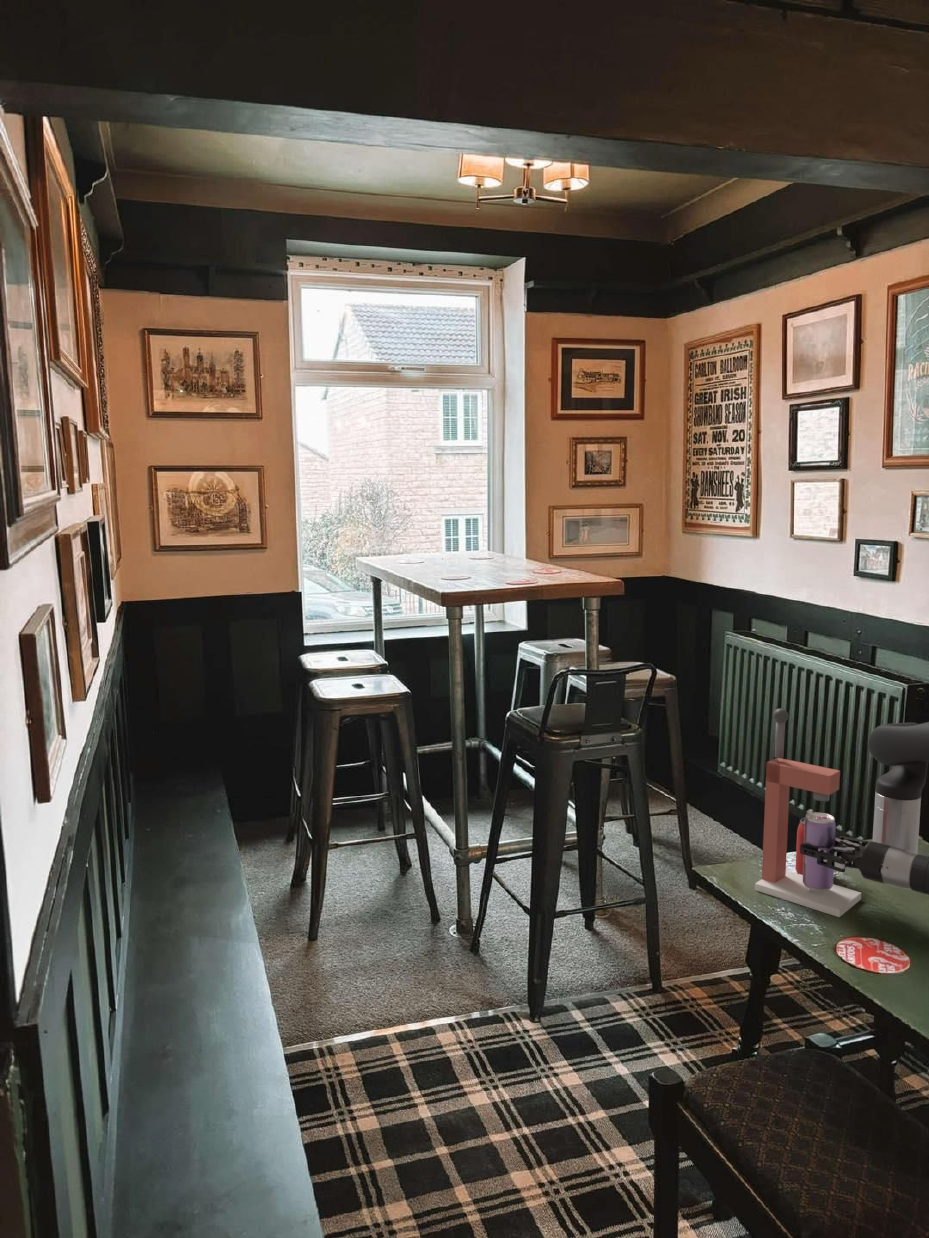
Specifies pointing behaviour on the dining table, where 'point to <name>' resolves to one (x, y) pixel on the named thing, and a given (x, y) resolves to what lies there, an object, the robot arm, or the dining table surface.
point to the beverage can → (823, 836)
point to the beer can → (799, 841)
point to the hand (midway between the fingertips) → (807, 843)
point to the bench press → (776, 829)
